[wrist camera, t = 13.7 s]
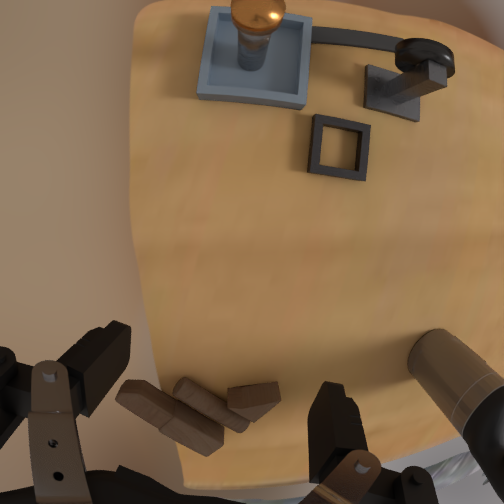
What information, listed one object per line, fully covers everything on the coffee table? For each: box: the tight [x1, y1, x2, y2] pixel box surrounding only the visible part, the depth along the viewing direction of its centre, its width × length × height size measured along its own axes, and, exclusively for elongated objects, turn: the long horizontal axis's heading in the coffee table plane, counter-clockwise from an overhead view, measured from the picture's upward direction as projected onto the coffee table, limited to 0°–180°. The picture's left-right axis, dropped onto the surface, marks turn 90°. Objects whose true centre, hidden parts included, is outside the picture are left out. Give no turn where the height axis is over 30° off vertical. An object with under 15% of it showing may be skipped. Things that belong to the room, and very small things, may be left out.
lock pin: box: [231, 0, 286, 71], centre depth 25 cm, size 4×4×13 cm
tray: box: [196, 6, 312, 110], centre depth 31 cm, size 12×12×3 cm
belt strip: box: [311, 26, 404, 53], centre depth 32 cm, size 14×2×1 cm, turn 94°
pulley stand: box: [364, 38, 455, 122], centre depth 28 cm, size 8×7×12 cm
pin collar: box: [307, 114, 371, 181], centre depth 35 cm, size 7×7×2 cm
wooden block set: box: [115, 377, 281, 457], centre depth 40 cm, size 17×6×18 cm
